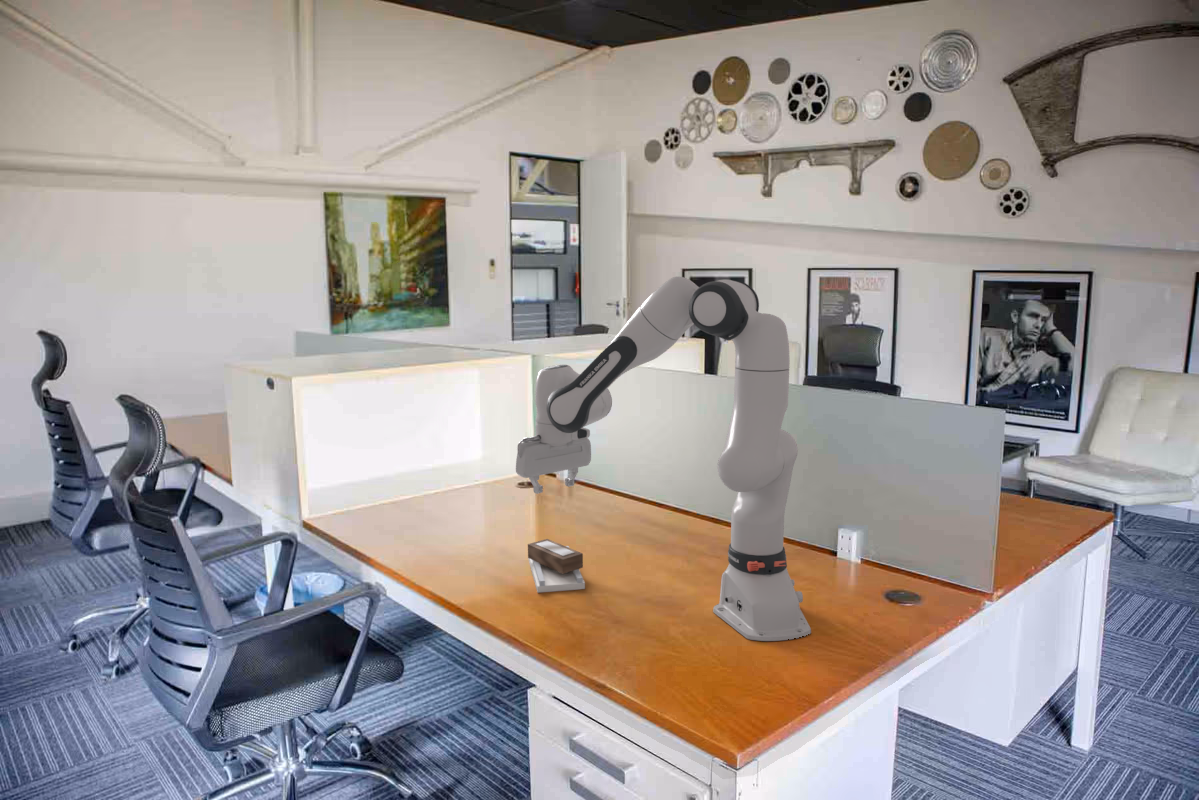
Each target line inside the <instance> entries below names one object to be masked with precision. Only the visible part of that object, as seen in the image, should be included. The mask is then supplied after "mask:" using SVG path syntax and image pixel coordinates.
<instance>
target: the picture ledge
mask: <svg viewBox="0 0 1199 800" xmlns="http://www.w3.org/2000/svg"><path fill="white" fill-rule="evenodd" d="M565 546H566V547H568V548H570V546H569V545H565ZM527 559H528V563H529V567H530V570H531V574H532V579H533V582H534V584H535V589H536V593H537V594H538V593H539V594H540V593H550V592H562V591H563V592H564V591H574V590H575V591H577V590H585V589H586V582H585V580H584V577H583V575H582V573H581V570H580V569H577V570H573V571H570V572H567V573H564V574H562V573H560V572H558V571H556V570H554V569H551V568H549V567H547V566H545V565H543V564H540V563H538V562H536V561H534V560H532V559H530V558H528V557H527Z"/></svg>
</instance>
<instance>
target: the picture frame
mask: <svg viewBox="0 0 1199 800" xmlns="http://www.w3.org/2000/svg"><path fill="white" fill-rule="evenodd" d="M566 546H567V545H563V544H561V543H558V542H556V541H554V540H551V539H548V538H546V539H542V540H539V541H538V540H537V541H534V542H532V543H528V544H527V559H528V558H530V559H532V560H534V561H536V562H538V563H540V564H543V565H545V566H547V567H549V568H551V569H554V570H556V571H558V572H560V573H562V574H564V573H567V572H570V571H573V570H577V569H579V570H580V569H583V568H584V560H583V559H584V554H583V553H582V552H580V551H577V550H575V549H573V548H570V547H569V548H568V547H566Z"/></svg>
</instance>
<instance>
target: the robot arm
mask: <svg viewBox="0 0 1199 800" xmlns="http://www.w3.org/2000/svg"><path fill="white" fill-rule="evenodd" d="M759 309H760V301H759V297H758V295H757V292H756V291H755V290H754V288H753V287H751V285H749V284H747V283H746V282H744V281H739V280H731V279H719V280H714V281H712V280H711V281H708V282H706V283H704V284H702V285H700V286H698V285H697V284H696V283H694V282H693V281H692V280H690V279H688V278H687V277H685V276H674V277H671V278H669V279H667V281H665V282H664V283H662V284H661V285H660V286H659V287H657V289H655V290H654V291H653V292H652V293H651V294H650V295H649V296H648V297H647V298H646V299H645V300H644V301H643V302H642V303H641V304H640V306H639V307H638V308H637V309H636V310H635V312H634V313H633V314H632V315H631V317H629V319H627V322H626V323H625V324H624V325H623V327H622V328H621V329H620V331H619V332H618V333H617V334H616V335H615V337H613V339H612V340H611V341H610V343H608V345H607V346H606V347H605V348H604V349H603V350H602V352H600V354H598V355H597V356H596V358H594V359H593V360H592V362H590V363H589V365H588V366H587V367H586V368H585V369H584V370H583V371H582V372H581V373H578V372H577V371H576V370H574V368H572V366H570V365H568V364H556V365H550V366H545V367H543V368H541V369H540V370H539V371H538V374H537V377H536V382H535V400H534V401H535V405H536V406H535V407H536V416H535V435H533V436H529V437H527V436H525V437H523V438H522V439H521V440H520V441H519V442H518V444H517V447H516V448H517V449H516V450H517V454H516V461H515V473H516V474H517V475H518V476H519V477H521V478H524V479H529V481H530V483H531V484H532V486H533V488H532V489H533V493H534V494H536V495H538V494H541V493H543V492H544V490H543V489H544V488H543V487H544V486H543V485H542V484H540V483H539V481H540V476H543V475H548V474H553V473H558V472H562V471H567V470H568V471H569V474H568V475H567V477H565V478H564V481H565V482H564V484H565V485H564V486H566V487H573V486H575V479H576V478H577V475H578V473H579V468H582V467H587V466H589V465H590V462H591V461H592V445H591V440H590V439H589V438H590V435H591V430H590V429H588V428H586V427H587V426H589V425H591V424H593V423H596V422H598V421H600V420H602V419H604V418H606V417H607V416H608V415H609V413H610V412H611V410H612V406H613V405H612V404H613V398H612V395H611V392H610V390H609V387H611V385H612V384H613V383H614V382H615V381H616V380H617V379H618V378H620V377H621V376H623V375H624V374H626V373H627V372H628V371H631V370H632V369H634V368H636V367H639V366H642V365H643V364H647V363H648V362H652V361H654V360H656V359H658V358H659V357H660V356H662V355H664V354H665V353H666V352H667V351H668V350H669V349H671V348H672V347H673V346H674V345H675V344H676V343H677V342H678V341H679V339H680V338H681V337H682V336H683V335H684V334H685V332H687V331H688V330H689V329H690V328H691V327H692V326H695V327H696V328H697V329H698V330H700V331H702V332H704V333H705V334H708V335H711V336H715V337H717V338H721V339H723V340H725V341H732V342H733V344H734V348H735V350H734V351H735V360H734V388H733V390H734V391H733V393H734V394H733V405H732V411H731V416H730V421H729V426H728V430H727V433H726V438H725V443H724V446H723V450H722V452H721V453H720V456H719V458H718V462H717V473H718V476H719V479H720V480H721V482H722V484H724V486H725V487H727V489H729V490H731V491H733V492H737V495H736V498H735V501H734V503H733V505H732V508H731V515H730V516H731V517H730V518H731V519H730V526H731V527H730V543H729V544H728V550H727V555H728V556H727V557H728V558H727V560H728V566H727V568H726V569H725V570H724V572H722V575H721V581H720V582H721V583H720V592H719V594H720V595H719V603H718V604H716V605H714V606H713V610H712V612H713V613H714V614H715V615H716V616H717V617H719V618H720V619H722V620H723V621H724V622H725V623H727V624H728V625H729V626H730V627H731V628H733V629H734V630H735V631H737V632H738V633H739V634H740V635H742V636H743V637H744V638H745V639H747V640H751V641H759V642H760V641H761V642H778V641H789V640H794V638H796V639H800V638H799V637H801V638H803V637H802V636H804V637H806V635H807V636H808V634H809V635H810V634H812V629H811V627H810V623H808V621H807V619H806V617H805V615H804V613H803V611H802V610H801V608H800V603H803V600H804V596H803V592H802V591H801V590H800V591H799V590H798V591H797V590H795V588H794V586H795V579H792V578H791V576H790V574H789V571H788V562H787V554H786V549H785V546H784V529H785V513H786V512H785V511H786V507H787V501H788V496H789V490H790V486H791V482H792V474H793V470H794V465H795V464H796V460H797V457H798V450H799V449H798V446H797V445H798V444H797V443H796V442H797V441H796V440H795V438H794V437H793V436H792V434H790V433H789V432H788V431H786V430H784V429H781V428H782V424H783V421H784V418H785V415H786V412H787V410H788V406H789V391H790V389H789V388H790V344H789V336H788V331H787V326H786V324H785V322H784V321H783V319H782V318H780V317H779V316H777V315H774V314H770V313H761V312H759ZM788 639H789V640H788Z"/></svg>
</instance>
